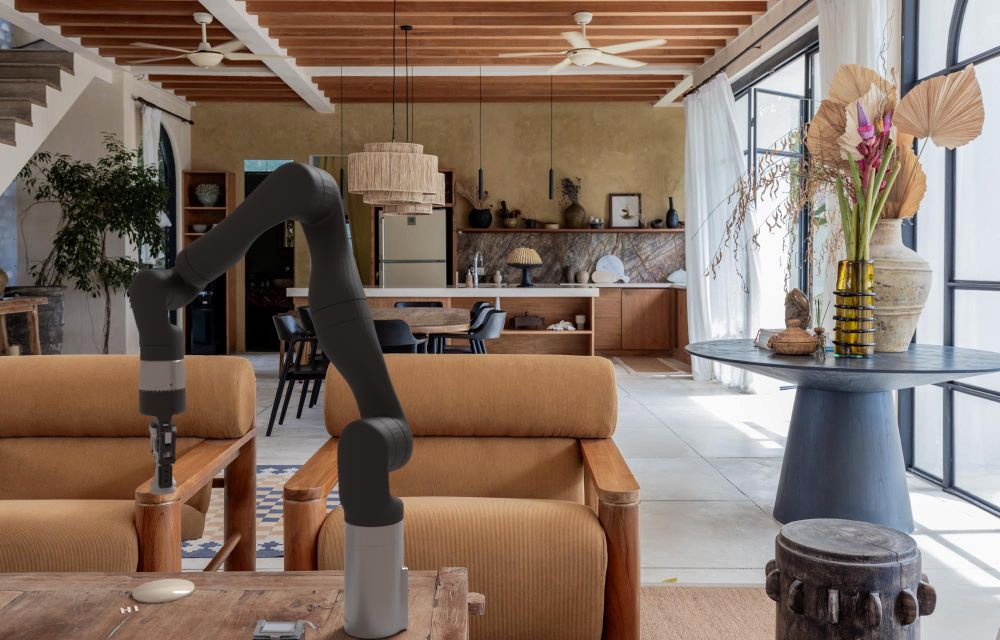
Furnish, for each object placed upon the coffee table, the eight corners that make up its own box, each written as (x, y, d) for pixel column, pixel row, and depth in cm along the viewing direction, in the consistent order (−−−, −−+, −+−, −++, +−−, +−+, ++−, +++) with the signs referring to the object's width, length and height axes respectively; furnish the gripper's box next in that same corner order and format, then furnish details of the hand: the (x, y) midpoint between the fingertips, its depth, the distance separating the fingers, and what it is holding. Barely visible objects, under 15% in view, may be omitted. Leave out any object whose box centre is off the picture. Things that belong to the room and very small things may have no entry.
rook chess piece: (167, 496, 146) (167, 449, 145) (143, 494, 146) (143, 448, 146) (182, 489, 150) (181, 444, 150) (159, 488, 151) (158, 443, 150)
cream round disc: (189, 578, 156) (189, 575, 156) (198, 596, 147) (198, 593, 147) (129, 587, 151) (129, 584, 151) (135, 606, 142) (135, 603, 142)
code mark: (121, 613, 139) (121, 613, 139) (120, 608, 141) (120, 608, 141) (138, 611, 140) (138, 610, 140) (137, 606, 143) (136, 605, 143)
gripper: (192, 389, 143) (193, 491, 144) (179, 380, 156) (180, 474, 156) (143, 391, 139) (144, 496, 140) (134, 382, 152) (135, 478, 153)
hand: (163, 484), depth 148 cm, fingers closed on rook chess piece, 4 cm apart
